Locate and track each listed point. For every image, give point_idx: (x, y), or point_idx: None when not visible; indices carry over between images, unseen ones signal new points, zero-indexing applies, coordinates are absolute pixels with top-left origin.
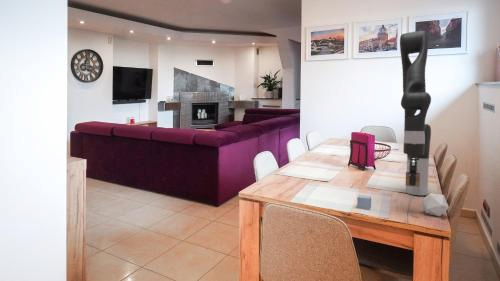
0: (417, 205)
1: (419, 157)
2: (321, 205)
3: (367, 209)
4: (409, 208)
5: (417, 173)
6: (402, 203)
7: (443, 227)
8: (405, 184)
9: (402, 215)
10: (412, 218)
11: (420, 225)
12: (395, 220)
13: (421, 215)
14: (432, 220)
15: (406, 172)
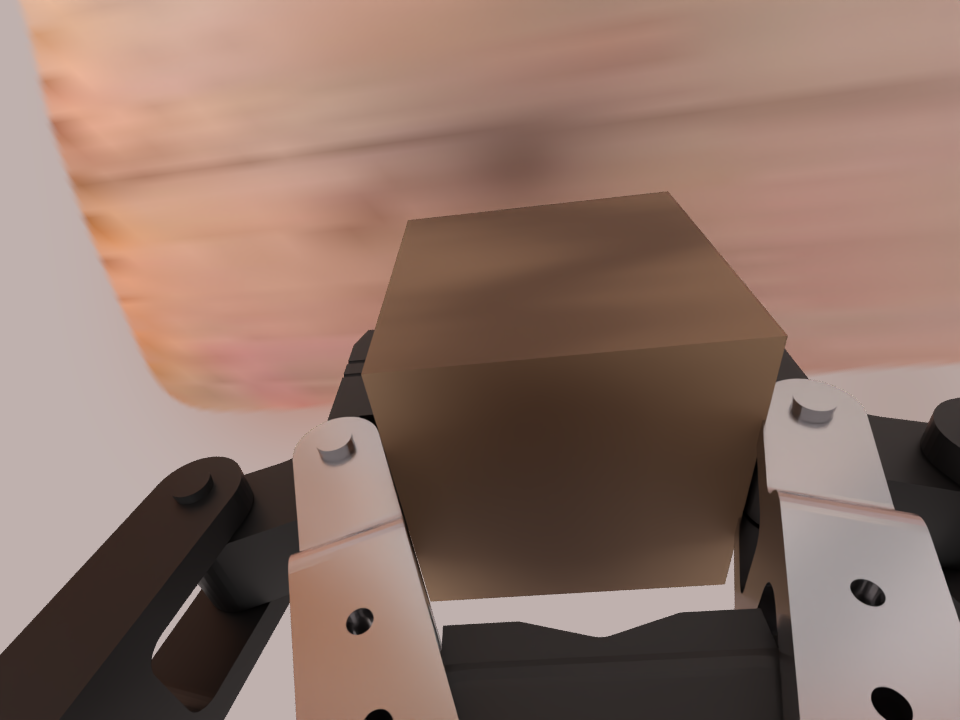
0: (871, 189)
1: None
2: None
3: None
4: (683, 128)
5: (545, 565)
6: (948, 4)
7: (214, 402)
8: (406, 229)
9: (316, 104)
10: (279, 206)
11: (120, 282)
12: (62, 70)
13: None
14: (342, 341)
15: (586, 365)
